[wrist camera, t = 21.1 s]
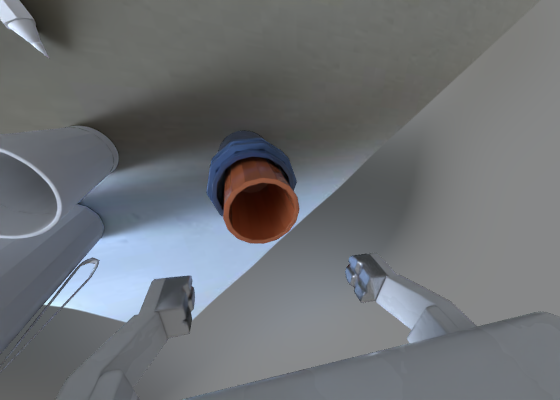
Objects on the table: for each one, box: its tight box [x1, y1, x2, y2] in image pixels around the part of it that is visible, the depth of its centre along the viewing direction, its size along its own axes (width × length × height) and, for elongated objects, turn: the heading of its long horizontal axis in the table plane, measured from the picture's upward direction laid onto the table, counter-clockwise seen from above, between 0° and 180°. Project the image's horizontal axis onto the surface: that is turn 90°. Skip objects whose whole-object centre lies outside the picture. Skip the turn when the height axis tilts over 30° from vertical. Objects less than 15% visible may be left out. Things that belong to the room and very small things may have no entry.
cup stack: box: [212, 130, 294, 215], centre depth 25 cm, size 8×8×12 cm
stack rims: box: [206, 138, 297, 216], centre depth 22 cm, size 9×9×2 cm
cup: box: [0, 126, 119, 239], centre depth 20 cm, size 8×8×12 cm
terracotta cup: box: [223, 156, 299, 243], centre depth 20 cm, size 6×6×10 cm
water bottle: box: [0, 204, 104, 373], centre depth 18 cm, size 9×8×25 cm
